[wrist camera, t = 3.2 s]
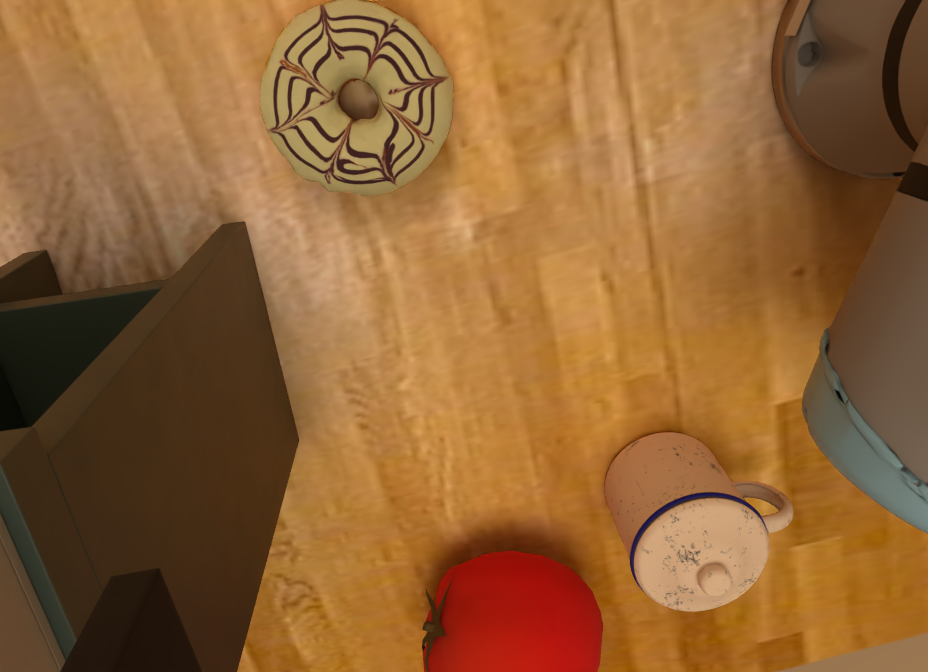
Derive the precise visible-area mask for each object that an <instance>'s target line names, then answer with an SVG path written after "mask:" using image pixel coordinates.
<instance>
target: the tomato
mask: <svg viewBox="0 0 928 672" xmlns="http://www.w3.org/2000/svg"><path fill="white" fill-rule="evenodd" d="M426 595H427V598H428V600H429V603H430V606H431V608H432V609H431V610H430V611H429V614H428V617H427V619H426V622H425V623H424V626H423V630H425V631H427V634H426V636H425V637H424V639H423V642H422V649H423V661H424V672H597V671H598V668H599V665H600V655H601V644H602V633H603V622H602V617H601V612H600V610H599V607H598V604H597V602H596V599H595V597H594V594H593V592H592V591H591V589H590V588H589V587H588V586H587V585H586V583H585V582H584V581H583V580H582V579H581V577H580V576H579V575H578V574H576V573H575V572H574V571H573V570H571V569H570V568H569V567H568V566H566V565H564V564H561V563H559V562H557V561H554V560H552V559H550V558H548V557H545V556H543V555H537V554H530V553H523V552H515V551H503V552H495V553H487V554H483V555H481V556H478V557H476V558H474V559H471V560H469V561H466V562H464V563H461V564H459V565H457V566H454V567H452V568H450V569H449V570H448V571H447V572H446V574H445V575H444V576H443V578H442V579H441V581H440V583H439V585H438V588H437V593H436V599H435V603H434V602H433V600H432V598H431V596H430V595H429V593H428V591H427V589H426ZM426 642H427V643H426ZM425 643H426V646H425V645H424V644H425Z"/></svg>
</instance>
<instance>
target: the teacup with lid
mask: <svg viewBox="0 0 928 672" xmlns="http://www.w3.org/2000/svg"><path fill="white" fill-rule="evenodd" d="M605 497H606V501H607V504H608V506H609V509H610V511H611V514H612V516H613V519H614V521H615V523H616V526H617V528H618V531H619V533H620V536H621V538H622V540H623V543H624V545H625V548H626V550H627V552H628V555H629V557H630V566H631V571H632V574H633V577H634V579H635V581H636V583H637V584H638V586H639V587H640V588H641V589H642V590H643V592H644V593H646V594H647V595H648V596H649V597H650V598H651V599H653V600H654V601H656V602H657V603H659V604H661V605H663V606H666V607H668V608H671V609H675V610H680V611H704V610H709V609H713V608H717V607H720V606H722V605H725V604H727V603H729V602H731V601H733V600H735V599H736V598H738V597H739V596H741V595H742V594H743V593H745V592H746V591H747V590H748V589H749V588H750V587H751V586H752V585H753V584H754V583H755V582H756V580H757V579H758V578H759V576H760V575H761V573H762V571H763V569H764V567H765V564H766V561H767V558H768V553H769V538H768V533H771V532H776V531H779V530H781V529H783V528H785V527H786V526H788V525H789V524H790V522H791V521H792V518H793V506H792V503H791V501H790V500H789V499H788V497H787V496H786V495H784V494H783V493H782V492H781V491H779V490H777V489H776V488H774V487H772V486H769V485H767V484H764V483H760V482H755V481H738V482H732V481H731V480H730V478H729V477H728V475H727V474H726V472H725V471H724V470H723V468H722V467H721V465H720V464H719V463H718V461H717V460H716V458H715V457H714V455H713V454H712V453H711V451H710V450H709V449H708V448H707V447H706V446H705V445H704V444H703V443H701V442H700V441H699V440H697V439H695V438H693V437H691V436H688V435H685V434H681V433H674V432H663V433H656V434H652V435H648V436H645V437H643V438H640V439H638V440H636V441H635V442H633V443H631V444H630V445H629V446H627V447H626V448H625V449H624V450H622V451H621V452H620V453H619V454H618V456H617V457H616V458H615V459H614V461H613V462H612V464H611V466H610V468H609V470H608V472H607V476H606V479H605ZM744 497H750V498H757V499H761V500H764V501H766V502H768V503H770V504H772V505H773V506H775V507H776V508H777V509H778V510H779V511H778V512H776V513H774V514H770V515H766V516H761V515H760V514H759V513H758V512H757V510H756V509H755V508H754V507H752V506H751V505H750V504H749V503H747V502H746V501H745V499H744Z"/></svg>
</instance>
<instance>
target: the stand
mask: <svg viewBox="0 0 928 672" xmlns="http://www.w3.org/2000/svg"><path fill="white" fill-rule="evenodd" d="M298 442H299V438H298V434H297V430H296V426H295V422H294V418H293V414H292V410H291V406H290V402H289V398H288V394H287V390H286V386H285V382H284V378H283V374H282V370H281V365H280V361H279V357H278V353H277V349H276V345H275V341H274V337H273V333H272V329H271V325H270V321H269V317H268V313H267V309H266V305H265V301H264V297H263V293H262V289H261V285H260V281H259V277H258V273H257V269H256V265H255V261H254V257H253V253H252V249H251V244H250V240H249V236H248V232H247V228H246V224H245V222H237V223H230V224H223V225H221V226H220V227H219V228H218V229H217V230H216V231H215V233H214V234H213V235H212V236H211V237H210V238H209V239H208V240H207V241H206V242H205V243H204V244H203V245H202V246H201V247H200V248H199V250H198V251H197V252H196V253H195V254H194V255H193V256H192V257H191V258H190V259H189V260H188V261H187V262H186V263H185V264H184V265H183V267H182V268H181V269H180V270H179V271H178V272H177V273H176V274H175V275H174V276H173V277H172V278H171V279H167V280H160V281H153V282H146V283H139V284H132V285H125V286H118V287H111V288H104V289H97V290H91V291H84V292H77V293H70V294H63V295H62V293H61V290H60V287H59V284H58V281H57V279H56V276H55V273H54V270H53V267H52V265H51V262H50V259H49V256H48V253H47V251H46V250H43V251H36V252H29V253H23V254H22V255H20V256H18V257H17V258H15V259H13V260H12V261H10V262H8V263H6V264H5V265H3V266H1V267H0V672H60V671H61V669H62V667H63V665H64V663H65V662H66V660H67V658H68V656H69V654H70V652H71V650H72V649H73V647H74V645H75V643H76V641H77V639H78V637H79V636H80V634H81V632H82V630H83V628H84V626H85V624H86V622H87V621H88V619H89V617H90V615H91V613H92V611H93V609H94V608H95V606H96V604H97V602H98V600H99V598H100V596H101V595H102V593H103V591H104V589H105V587H106V585H107V583H108V582H109V580H110V578H111V577H112V576H117V575H123V574H128V573H134V572H139V571H144V570H150V569H155V568H160V571H161V573H162V575H163V578H164V580H165V583H166V585H167V588H168V590H169V592H170V595H171V597H172V600H173V602H174V605H175V607H176V609H177V612H178V614H179V617H180V619H181V621H182V624H183V626H184V629H185V631H186V634H187V636H188V638H189V641H190V643H191V646H192V648H193V651H194V653H195V655H196V658H197V660H198V663H199V665H200V668H201V670H202V672H237V670H238V666H239V662H240V659H241V655H242V651H243V647H244V644H245V640H246V636H247V632H248V629H249V625H250V621H251V617H252V614H253V610H254V606H255V603H256V599H257V595H258V591H259V588H260V584H261V580H262V576H263V573H264V569H265V565H266V561H267V558H268V554H269V550H270V547H271V543H272V539H273V535H274V532H275V528H276V524H277V520H278V517H279V513H280V509H281V505H282V502H283V498H284V494H285V491H286V487H287V483H288V479H289V476H290V472H291V468H292V464H293V461H294V457H295V453H296V449H297V446H298Z"/></svg>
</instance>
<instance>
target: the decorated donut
mask: <svg viewBox="0 0 928 672" xmlns="http://www.w3.org/2000/svg"><path fill="white" fill-rule="evenodd" d="M357 79H358V80H360V79H361V80H363V81H365V82H367V83H369V84H370V85H371V86H372V87H373V89H374V91H375V93H376V96H377V98H378V103H379V105H378V106H379V108H378V111H377V114H376V115H375V117H374V118H372V119H360V120H358V121H356V120H355V119H351V117H349V116H347V114H345V112H344V111H343V110H342V108H341V106H340V104H339V103H340V102H339V94H340V92H341V91H342V89H343V88H344V87H345V86H346V84H348V83H349V82H350V81H354V82H355V80H357ZM453 93H454V84H453V80H452V78H451V76H450V74H449V72H448V70H447V68H446V66H445V64H444V62H443V60H442V58H441V56H440V55H439V54H438V52H437V51H436V49H435V48H434V47H433V46H432V45H431V43H430V42H429V41H428V40H427V38H426V37H425V36H424V35H423V34H422V33H421V32H420V31H419V30H418V29H417V27H415V26H414V25H413V24H412V23H410V22H409V21H408V20H406V19H405V18H403V17H402V16H401V15H399V14H397V13H395V12H393V11H392V10H390V9H387V8H386V7H383V6H381V5H378V4H375V3H372V2H370V1H364V0H334V1H331V2H326V3H323V4H320V5H318V6H315V7H313V8H311V9H308V10H306V11H304V12H303V13H300V14H298V15H296V16H295V18H294V19H292V20H291V21H290V22H289V23H288V25H287V26H286V27H285V28H284V29H283V30H282V32H281V33H280V35H279V37H278V38H277V40H276V42H275V44H274V46H273V48H272V51H271V53H270V55H269V57H268V59H267V61H266V69H265V72H264V75H263V77H262V80H261V86H260V108H261V112H262V117H263V120H264V123H265V125H266V130H267V132H268V134H269V135H270V137H271V139H272V141H273V143H274V144H275V145H276V147H277V148H278V150H279V151H280V153H281V154H282V155H283V156H284V157H285V158H286V159H287V160H288V161H289V162H290V164H291V165H292V167H293V169H294V171H295V172H296V173H297V174H298V175H299V176H301V177H302V178H304V179H306V180H309V181H313V182H319V183H320V184H321V185H322V186H323V187H325V189H326V190H328V191H331V192H350V193H353V194H359V195H363V196H380V195H384V194H388V193H391V192H393V191H395V190H397V189H399V188H401V187H402V186H404V185H405V184H407V183H409V182H411V181H413V180H414V179H416V178H417V177H418V175H419V174H420V173H421V172H422V171H424V170H425V169H426V168H427V167H428V166H429V165H430V163H431V162H432V161H433V159H434V158H435V157H436V156H437V154H438V152H439V150H440V149H441V147H442V145H443V143H444V141H445V140H446V138H447V135H448V133H449V129H450V126H451V123H452V115H453V111H452V108H453Z"/></svg>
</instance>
